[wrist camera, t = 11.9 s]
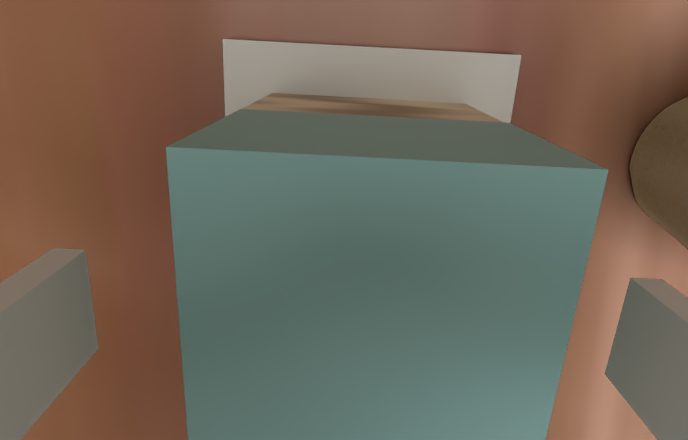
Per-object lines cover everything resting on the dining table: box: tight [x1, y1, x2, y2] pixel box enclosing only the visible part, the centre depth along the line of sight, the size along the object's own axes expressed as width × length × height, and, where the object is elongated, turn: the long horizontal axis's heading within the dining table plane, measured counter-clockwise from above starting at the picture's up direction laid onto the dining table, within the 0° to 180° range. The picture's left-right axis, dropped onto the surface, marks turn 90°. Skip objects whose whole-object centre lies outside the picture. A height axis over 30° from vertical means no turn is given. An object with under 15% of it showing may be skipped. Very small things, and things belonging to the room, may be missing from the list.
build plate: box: [223, 39, 521, 123], centre depth 22 cm, size 12×12×1 cm
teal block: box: [166, 109, 609, 440], centre depth 13 cm, size 8×8×6 cm
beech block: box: [242, 93, 502, 122], centre depth 19 cm, size 8×8×6 cm
